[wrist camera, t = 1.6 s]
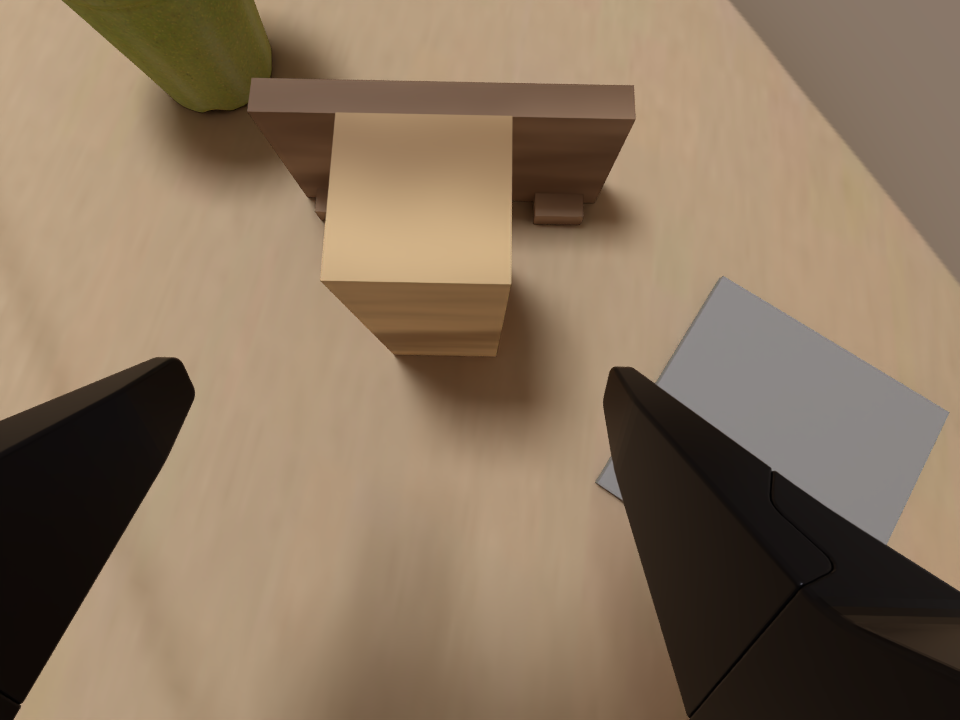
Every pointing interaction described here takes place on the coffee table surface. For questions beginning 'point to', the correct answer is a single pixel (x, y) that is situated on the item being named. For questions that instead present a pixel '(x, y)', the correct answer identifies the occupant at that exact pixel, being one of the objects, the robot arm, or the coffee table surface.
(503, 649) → the coffee table surface
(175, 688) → the coffee table surface
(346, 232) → the letter block
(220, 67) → the plant pot
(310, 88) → the walnut screen
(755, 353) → the felt mat
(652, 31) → the coffee table surface
